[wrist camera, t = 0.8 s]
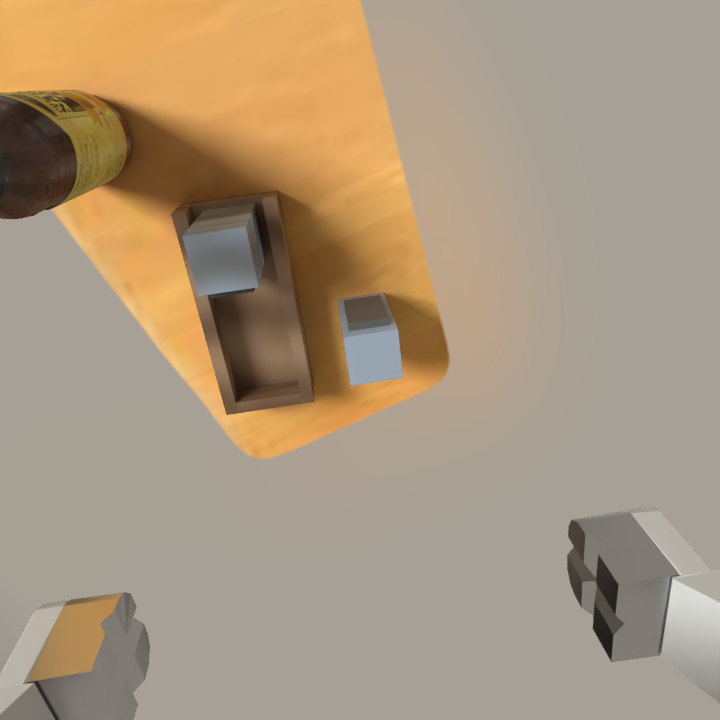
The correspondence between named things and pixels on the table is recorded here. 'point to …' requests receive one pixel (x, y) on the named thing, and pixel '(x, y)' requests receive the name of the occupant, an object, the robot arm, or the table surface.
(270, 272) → the brown wooden open box
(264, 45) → the table surface
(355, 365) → the blue grey rectangular block
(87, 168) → the sauce bottle
